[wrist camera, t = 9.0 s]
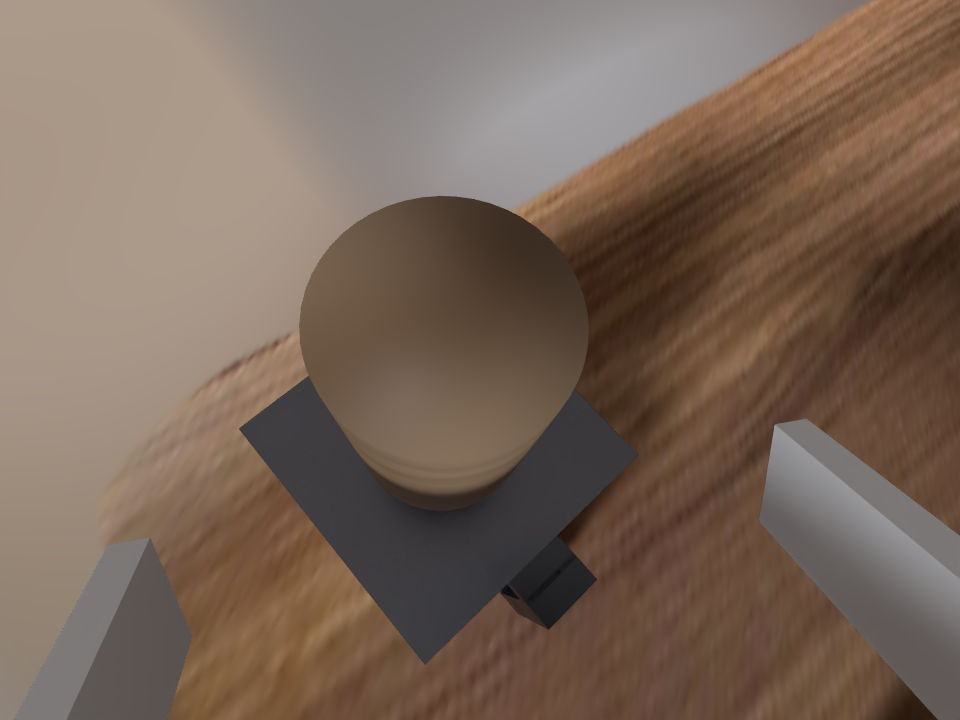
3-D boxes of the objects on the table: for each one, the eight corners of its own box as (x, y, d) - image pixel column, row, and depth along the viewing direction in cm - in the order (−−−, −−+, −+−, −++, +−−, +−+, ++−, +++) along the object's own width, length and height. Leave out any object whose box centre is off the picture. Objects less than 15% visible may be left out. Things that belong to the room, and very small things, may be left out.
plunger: (523, 473, 26) (646, 334, 10) (433, 555, 24) (430, 529, 9) (446, 389, 27) (459, 151, 12) (357, 463, 25) (239, 303, 10)
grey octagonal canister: (605, 519, 32) (698, 490, 20) (448, 676, 29) (455, 745, 17) (450, 351, 34) (457, 242, 23) (291, 479, 31) (208, 426, 20)
